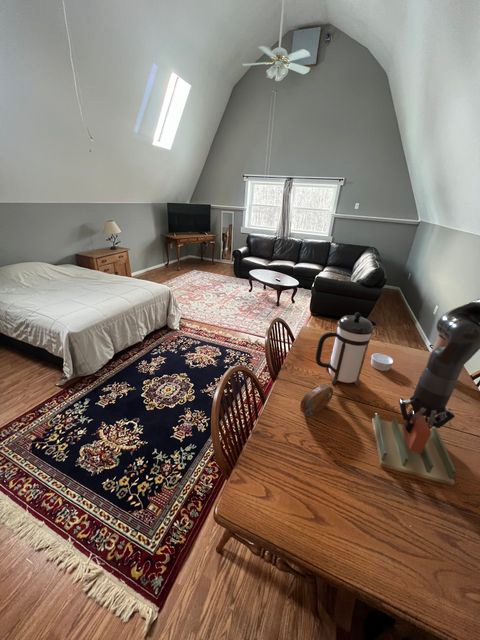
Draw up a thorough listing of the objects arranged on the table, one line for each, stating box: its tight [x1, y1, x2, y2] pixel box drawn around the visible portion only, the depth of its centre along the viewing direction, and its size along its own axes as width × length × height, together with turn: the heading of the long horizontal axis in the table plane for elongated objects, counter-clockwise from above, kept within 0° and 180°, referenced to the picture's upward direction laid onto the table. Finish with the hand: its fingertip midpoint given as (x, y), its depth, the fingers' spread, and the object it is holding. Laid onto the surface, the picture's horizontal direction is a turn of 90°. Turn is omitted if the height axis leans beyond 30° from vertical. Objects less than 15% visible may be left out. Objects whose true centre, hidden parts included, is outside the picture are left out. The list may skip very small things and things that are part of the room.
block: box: [402, 407, 432, 453], centre depth 78 cm, size 3×9×8 cm, turn 163°
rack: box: [371, 412, 457, 487], centre depth 81 cm, size 18×18×4 cm
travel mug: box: [426, 332, 448, 364], centre depth 115 cm, size 8×8×20 cm
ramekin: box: [370, 352, 394, 372], centre depth 121 cm, size 9×9×4 cm
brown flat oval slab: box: [299, 383, 334, 417], centre depth 94 cm, size 15×3×8 cm, turn 126°
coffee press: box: [315, 312, 375, 388], centre depth 106 cm, size 17×16×30 cm
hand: (414, 432), depth 78 cm, fingers closed on block, 3 cm apart
